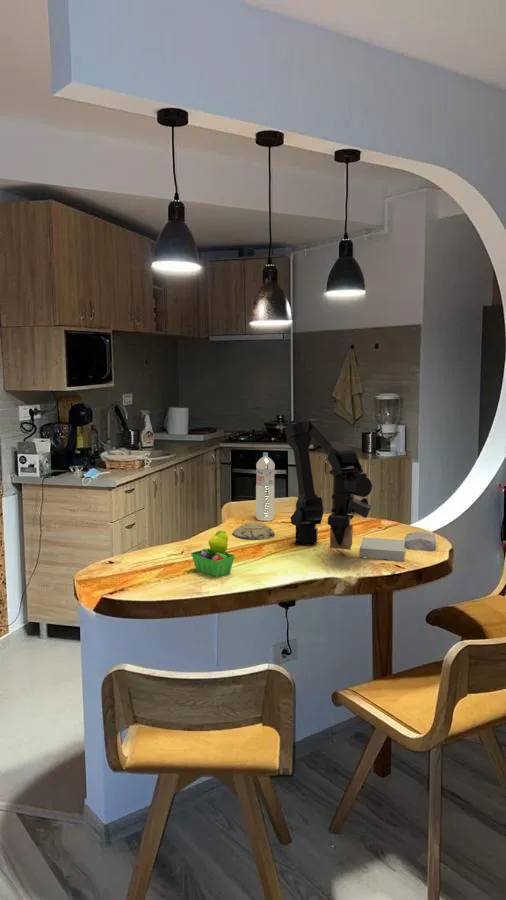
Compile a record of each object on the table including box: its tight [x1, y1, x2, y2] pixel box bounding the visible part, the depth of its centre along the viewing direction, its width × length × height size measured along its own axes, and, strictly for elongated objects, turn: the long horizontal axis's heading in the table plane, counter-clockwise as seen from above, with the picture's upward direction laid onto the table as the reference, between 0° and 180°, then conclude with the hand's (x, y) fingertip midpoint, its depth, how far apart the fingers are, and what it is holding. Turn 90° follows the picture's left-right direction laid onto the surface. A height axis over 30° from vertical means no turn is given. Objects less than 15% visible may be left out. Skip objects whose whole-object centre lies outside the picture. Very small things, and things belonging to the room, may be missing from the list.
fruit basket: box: [190, 529, 236, 578], centre depth 194 cm, size 11×9×11 cm
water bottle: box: [255, 452, 276, 522], centre depth 255 cm, size 7×7×25 cm
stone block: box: [403, 531, 437, 552], centre depth 222 cm, size 12×5×10 cm
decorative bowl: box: [231, 522, 276, 541], centre depth 235 cm, size 15×4×15 cm
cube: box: [329, 524, 354, 550], centre depth 207 cm, size 6×6×6 cm
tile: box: [359, 536, 406, 562], centre depth 213 cm, size 13×13×3 cm
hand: (341, 541), depth 207 cm, fingers closed on cube, 6 cm apart
